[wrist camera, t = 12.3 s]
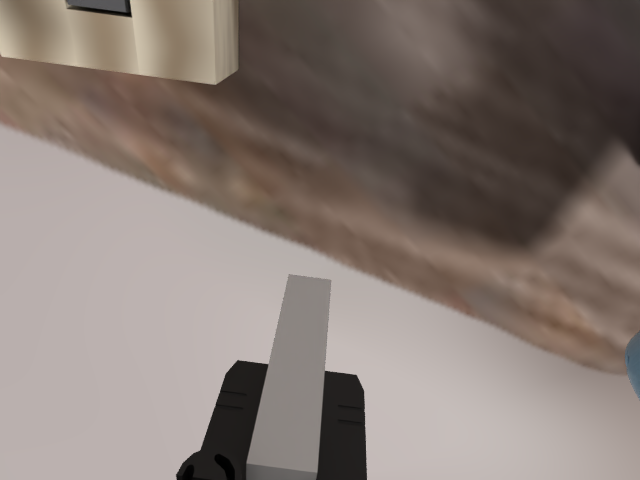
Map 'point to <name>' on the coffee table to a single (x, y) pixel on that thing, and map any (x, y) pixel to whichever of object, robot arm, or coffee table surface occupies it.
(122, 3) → the graphite peg
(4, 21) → the press block
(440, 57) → the coffee table surface
